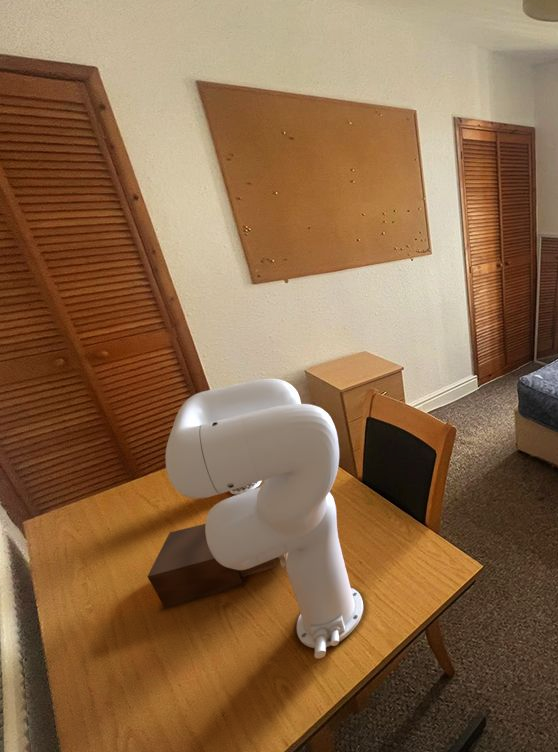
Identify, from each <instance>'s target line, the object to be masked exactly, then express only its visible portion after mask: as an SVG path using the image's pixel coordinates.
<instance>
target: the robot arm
mask: <svg viewBox="0 0 558 752" xmlns="http://www.w3.org/2000/svg"><path fill="white" fill-rule="evenodd" d="M299 394H300V393H299V392H298V390H297V389H296V388H295V387H294V386H293V385H292V384H291V383H289V382H287V381H286V380H283V379H279V378H260V379H255V380H250V381H245V382H241V383H237V384H236V383H235V384H232V385H227V386H223V387H217V388H213V389H208V390H204V391H200V392H197V393H195V394H193V395H191V396H190V397H189V398H187V399H186V400H185V401H184V403H183V404H182V405H181V406H180V408H179V410H178V411H177V414H176V416H175V419H174V422H173V426H172V428H171V431H170V434H169V435H168V436H169V437H168V440H167V443H166V446H165V447H166V448H165V469H166V474H167V477H168V479H169V482H170V484H171V486H172V488H174V489H175V491H177V492H178V493H179V494H180V495H182V496H184V497H186V498H189V499H207V498H210V497H214V496H219V495H221V494H224V493H227V492H230V491H231V490H234V489H237V488H240V487H243V486H246V485H249V484H252V483H256V482H259V481H262V483H261V485H260V487H256V488H255V489H254V490H251V491H247V492H244V493H241V494H237V495H236V494H235V495H233V496H230V497H227V498H225V499H223V500H220V501H218V502H217V503H215V504H214V505H213V506H212V507H211V509H209V511H208V513H207V515H206V519H205V523H204V524H205V534H206V540H207V544H208V547H209V549H210V551H211V553H212V555H213V556H214V558H215V559H216V560H217V561H218V562H219V563H220V564H221V565H223V566H225V567H227V568H231V569H236V570H245V569H249V568H252V567H254V566H257V565H259V564H262V563H264V562H267V561H269V560H272V559H274V558H276V557H278V558H279V556H281V555H284V554H286V553H288V556H287V560H286V568H285V570H286V574H287V577H288V579H289V583H290V585H291V589H292V592H293V594H294V595H293V596H294V598H295V600H296V603H297V607H298V611H299V612H300V614H299V615H298V618H297V621H296V634H297V637H298V639H299V640H300V642H301V643H302V644H303V645H304V646H306V647H308V648H311V649H314V655H313V656H314V658H315V659H322V658H324V657H325V656H326V654H327V648H328V647H331V646H332V647H335V646H338V645H339V643H340V642H342V641H343V640H344V639H346V638H347V637H348V636H349V635H350V634H351V633H352V632H354V630H355V629H356V627H357V626H358V625H359V623H360V621H361V618H362V616H363V613H364V602H363V598H362V596H361V594H360V593H359V591H358V590H356V589H354V588H352V587H351V583H350V580H349V579H350V578H349V575H348V572H347V568H346V564H345V559H344V556H343V552H342V547H341V543H340V539H339V533H338V519H337V518H338V517H337V515H338V514H337V505H336V502H335V499H334V496H333V495H332V493H331V490H332V488H333V485H334V484H335V481H336V478H337V476H338V470H339V465H340V443H339V437H338V432H337V428H336V426H335V423H334V421H333V419H332V417H331V415H330V414H329V413H328V412H327V411H326V410H324V409H323V408H322V407H320V406H317V405H314V404H309V403H302V401H301V397H300V395H299Z"/></svg>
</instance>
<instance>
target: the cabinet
mask: <svg viewBox="0 0 558 752" xmlns="http://www.w3.org/2000/svg"><path fill="white" fill-rule="evenodd" d="M205 524H206V523H203V524H199V525H195V526H190V527H187V528H181V529H177V530H174V531H170V532H169V533H168V534H167V537H166V539H165V541H164V542H163V544H162V546H161V549H160V551H159V552H158V554H157V556H156V559H155V561H154V563H153V564H152V567H151V568H150V570H149V572H148V574H147V579H148V580H149V583H150V584H151V587H152V588H153V590H154V592H155V594H156V596H157V598H158V599H159V602H160V603H161V605H162V607H163V609H167V608H171V607H174V606H177V605H181V604H184V603H187V602H190V601H195V600H198V599H201V598H204V597H207V596H212V595H214V594H218V593H222V592H225V591H228V590H231V589H235V588H238V587H242V586H244V583H245V578H246V576H244V577H241V575H240V572H239V570H236V569H231V568H227V567H225V566H223V565H221V564H220V563H219V562H218V561H217V560H216V559H215V558H214V556H213V555H212V553H211V551H210V549H209V547H208V544H207V540H206V534H205Z"/></svg>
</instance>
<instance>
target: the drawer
mask: <svg viewBox="0 0 558 752" xmlns="http://www.w3.org/2000/svg"><path fill="white" fill-rule="evenodd" d="M287 556H288V553H286V554H284V555H281V556H279V557H276V558H274V559H272V560H269V561H267V562H264V563H262V564H259V565H257V566H254V567H252V568H249V569H245V570H239V572H240V575H241V577H244V576H245V577H247V576H250V575H251V576H252V575H254V574H257V573H261V572H264V571H268V570H271V569H274V568H276V567H277V563H278V559H279V562H280V563H279V564H280V566H281V569H286V560H287Z"/></svg>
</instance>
